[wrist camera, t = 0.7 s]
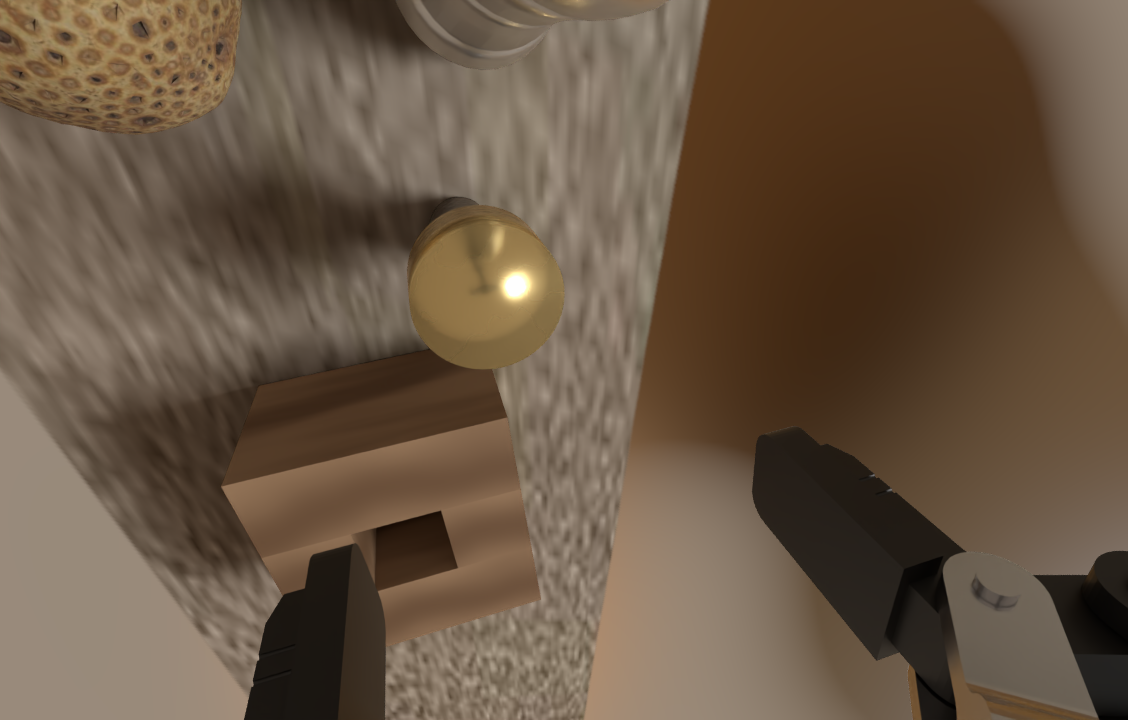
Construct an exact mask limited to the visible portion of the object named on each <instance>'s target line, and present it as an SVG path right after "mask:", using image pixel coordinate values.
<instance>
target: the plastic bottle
mask: <svg viewBox="0 0 1128 720" xmlns="http://www.w3.org/2000/svg"><path fill="white" fill-rule="evenodd" d="M395 1H396V4H397V6H398V8H399V9H400V11H401V13H402V15H403V16H404V18H405V20H406V22H407V24H408V25H409V26H410V28H411V29H412V30H413V31H414V33H415V34H416V35H417V36H418V38H419V39H420V40H421V41H423V42H424V43H425V44H426V45H427V46H428V47H429V48H430V49H431V50H433V51H434V52H436V53H437V54H439V55H441V56H442V57H444V58H445V59H447V60H449V61H451V62H453V63H456V64H458V65H461V66H464V67H467V68H473V69H479V70H489V69H499V68H502V67H505V66H509V65H512V64H513V63H515V62H517V61H519V60H520V59H522V58H524V57H525V56H526V55H527V54H528V53H529V52H530V51H531V50H532V49H533V48H534V47H535V46H536V45H537V44H538V43H539V42H540V41H541V40H542V39H543V38H544V36H545V35H546V33H547V32H548V30H549V29H550V27H551V26H552V25H553V24H555V23H558V22H562V21H582V20H587V21H597V20H615V19H619V18H623V17H629V16H633V15H637V14H640V13H644V12H647V11H650V10H654V9H657V8H658V7H660V6H661V5H663V4H665V3H666V2H668V1H670V0H395Z"/></svg>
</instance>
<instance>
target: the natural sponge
mask: <svg viewBox="0 0 1128 720" xmlns="http://www.w3.org/2000/svg"><path fill="white" fill-rule="evenodd" d="M241 13H242V0H0V102H2V103H4V104H6V105H8V106H10V107H13V108H15V109H17V110H19V111H22V112H25V113H27V114H30V115H33V116H37V117H41V118H45V119H48V120H51V121H54V122H58V123H61V124H68V125H74V126H78V127H83V128H88V129H92V130H97V131H102V132H110V133H122V134H135V135H136V134H145V133H153V132H159V131H163V130H167V129H171V128H174V127H178V126H181V125H183V124H186V123H189V122H191V121H193V120H195V119H197V118H199V117H201V116H203V115H205V114H207V113H208V112H210V111H212V110H213V109H215V108H216V107H217V106H218V105H219V104H220V103H221V102H222V101H223V99H224V98H225V96H226V94H227V92H228V89H229V87H230V84H231V81H232V78H233V75H234V68H235V58H236V47H237V40H238V35H239V26H240V17H241Z"/></svg>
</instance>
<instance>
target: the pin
mask: <svg viewBox="0 0 1128 720" xmlns="http://www.w3.org/2000/svg"><path fill="white" fill-rule="evenodd" d="M407 280H408V292H409V303H410V311H411V317H412V320H413V323H414V326H415V328H416V330H417V332H418V334H419V336H420V337H421V338H422V340H423V341H424V343H425V344H426V345H427V346H428V347H429V348H430V349H431V350H432V351H433V352H435V353H436V354H437V355H438V356H440V357H441V358H443V359H445V360H446V361H449V362H451V363H453V364H455V365H459V366H462V367H466V368H471V369H495V368H501V367H505V366H508V365H512V364H514V363H516V362H519V361H521V360H523V359H525V358H526V357H528V356H530V355H531V354H532V353H534V352H535V351H536V350H538V349H539V348H540V347H541V346H542V345H543V344H544V343H545V342H546V341H547V339H548V338H549V337H550V336H551V334H552V333H553V331H554V329H555V328H556V326H557V324H558V322H559V319H560V316H561V314H562V309H563V305H564V284H563V278H562V275H561V272H560V269H559V267H558V265H557V263H556V261H555V259H554V258H553V256H552V255H551V253H550V252H549V251H548V249H547V248H546V247H545V246H544V244H543V243H542V242H541V240H540V239H539V238H538V237H537V235H536V234H535V233H534V231H533V230H532V229H531V228H530V227H529V226H528V225H527V224H526V223H525V222H524V221H523V220H521V219H520V218H519V217H517V216H516V215H514V214H512V213H510V212H508V211H506V210H503V209H500V208H497V207H492V206H486V205H479V204H478V203H476V202H475V201H473V200H471V199H468V198H464V197H454V198H450V199H447V200H445V201H443V202H442V203H441V204H439V205H438V206H437V208H436V209H435V210H434V212H433V214H432V216H431V220H430V224H429V225H428V226H427V227H426V228H425V229H424V230H423V231H422V232H421V234H420V235H419V236H418V238H417V240H416V241H415V243H414V245H413V247H412V250H411V252H410V256H409V260H408V267H407Z"/></svg>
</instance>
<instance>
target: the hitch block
mask: <svg viewBox="0 0 1128 720" xmlns="http://www.w3.org/2000/svg"><path fill="white" fill-rule="evenodd" d="M221 487H222V489H223V491H224V493H225V495H226V496H227V498H228V500H229V502H230V503H231V505H232V507H233V509H234V510H235V512H236V514H237V516H238V518H239V519H240V521H241V523H242V525H243V526H244V528H245V530H246V532H247V533H248V535H249V537H250V539H251V541H252V542H253V544H254V546H255V548H256V549H257V551H258V553H259V555H260V557H261V558H262V560H263V562H264V564H265V565H266V567H267V569H268V571H269V572H270V574H271V576H272V578H273V580H274V581H275V583H276V585H277V587H278V588H279V590H280V592H281V594H282V595H284V594H286V593H290V592H293V591H297V590H300V589H304V588H305V584H306V578H307V572H308V566H309V561H310V558H311V556H312V555H313V554H316V553H320V552H324V551H327V550H331V549H335V548H339V547H342V546H346V545H350V544H353V543H356V544H358V546H359V547H360V549H361V551H362V554H363V556H364V559H365V561H366V564H367V566H368V569H369V571H370V574H371V576H372V579H373V581H374V583H375V586H376V588H377V591H378V593H379V596H380V599H381V602H382V606H383V611H384V617H385V627H386V647H387V646H390V645H393V644H397V643H400V642H403V641H406V640H410V639H413V638H416V637H420V636H423V635H426V634H429V633H433V632H436V631H439V630H442V629H446V628H449V627H452V626H455V625H459V624H462V623H465V622H469V621H472V620H475V619H478V618H482V617H485V616H488V615H491V614H495V613H498V612H501V611H505V610H508V609H511V608H514V607H518V606H521V605H524V604H527V603H531V602H534V601H537V600H541V597H540V592H539V586H538V581H537V575H536V570H535V565H534V559H533V554H532V548H531V543H530V538H529V532H528V527H527V521H526V516H525V510H524V505H523V500H522V494H521V489H520V483H519V478H518V473H517V467H516V462H515V456H514V451H513V446H512V440H511V435H510V429H509V424H508V419H507V415H506V412H505V409H504V406H503V403H502V399H501V396H500V393H499V390H498V387H497V384H496V381H495V378H494V374H493V371H492V369H471V368H466V367H462V366H459V365H455V364H453V363H451V362H449V361H446V360H445V359H443V358H441V357H440V356H438V355H437V354H436V353H435V352H433V351H432V350H431V349H429V350H424V351H420V352H415V353H410V354H406V355H401V356H396V357H391V358H387V359H382V360H377V361H373V362H368V363H363V364H359V365H354V366H349V367H344V368H340V369H335V370H330V371H326V372H321V373H316V374H312V375H307V376H302V377H297V378H293V379H288V380H283V381H279V382H274V383H269V384H265V385H260V386H259V387H258V389H257V392H256V395H255V397H254V400H253V403H252V405H251V408H250V411H249V413H248V416H247V419H246V421H245V424H244V427H243V429H242V432H241V435H240V437H239V440H238V443H237V445H236V448H235V451H234V453H233V456H232V459H231V461H230V464H229V467H228V469H227V472H226V475H225V477H224V480H223V483H222V485H221Z"/></svg>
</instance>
